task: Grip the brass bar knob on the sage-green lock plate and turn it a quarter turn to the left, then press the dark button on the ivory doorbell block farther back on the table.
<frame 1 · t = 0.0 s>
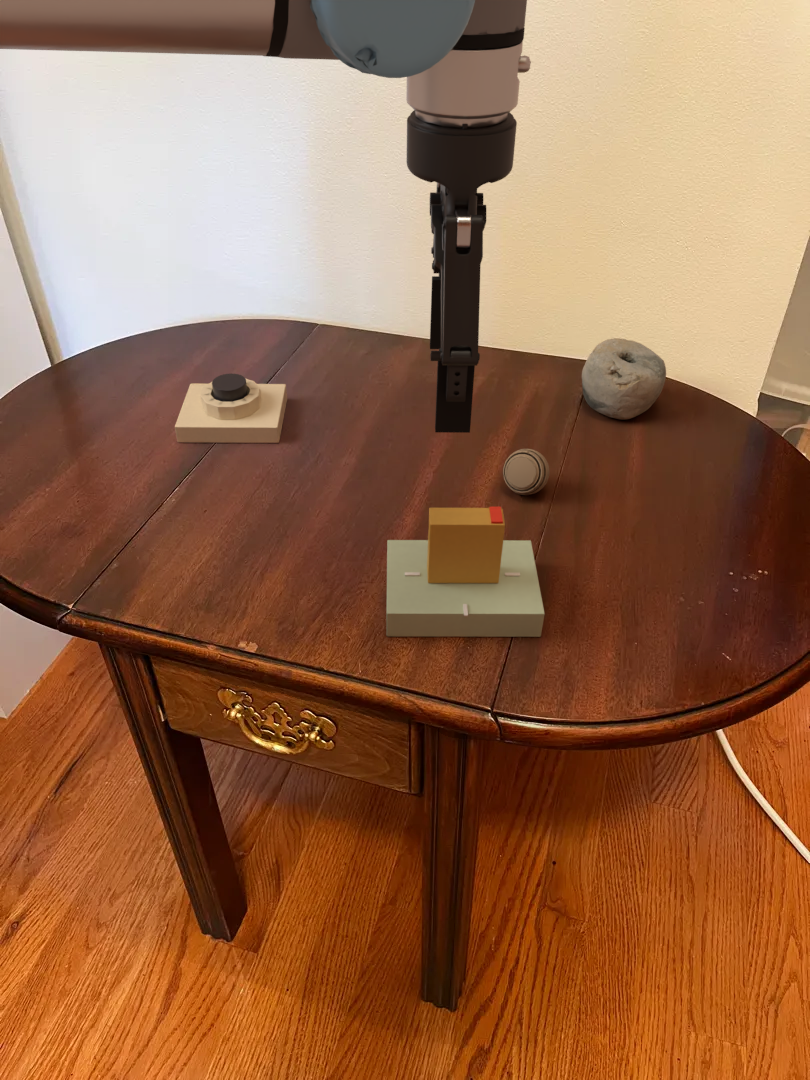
hand: (448, 386, 71), 20 cm above the table, tool pointing down, fingers open, 13 cm apart
door knob: (523, 491, 93), on the table
bell button: (229, 388, 100), point 4 cm above the table, slide at 0.1 cm
doorbell: (234, 419, 103), on the table
lock plate: (460, 598, 80), on the table
stone: (617, 406, 107), on the table
lock knob: (464, 545, 75), point 7 cm above the table, hinge at 0.0°
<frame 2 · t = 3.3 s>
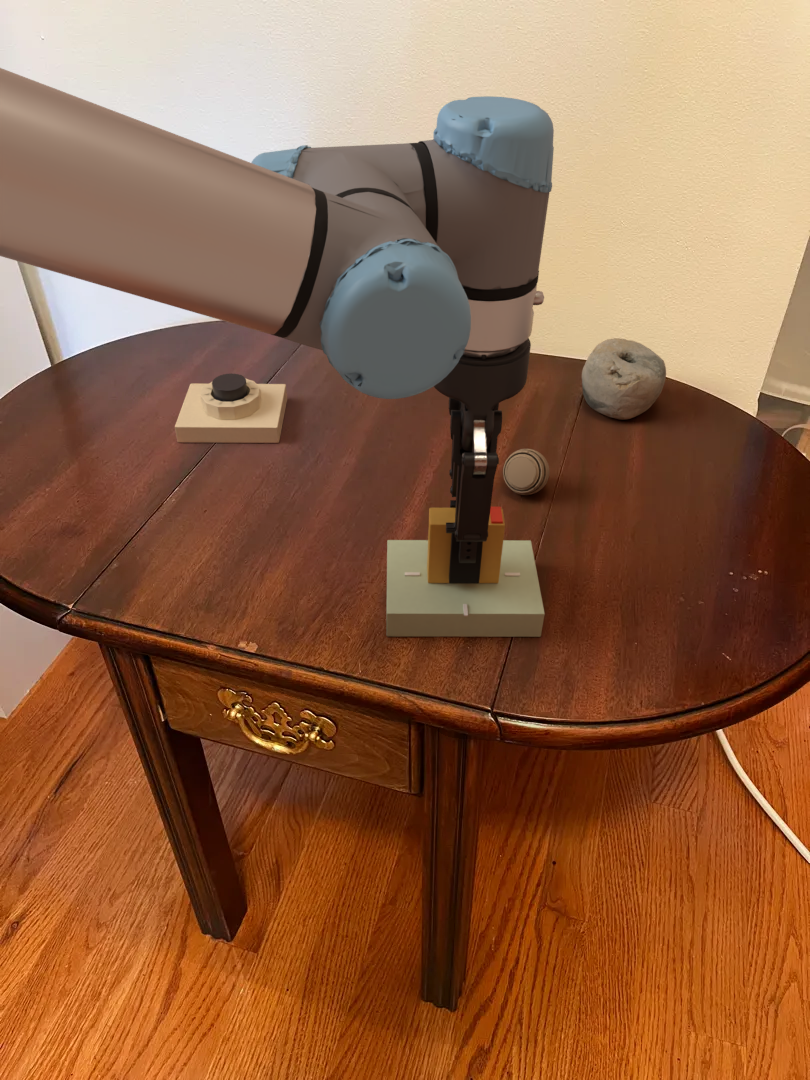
hand: (462, 568, 77), 4 cm above the table, tool pointing down, fingers closed on lock knob, 2 cm apart
lock knob: (464, 545, 75), point 7 cm above the table, hinge at -0.1°, touching gripper
everything else where it was.
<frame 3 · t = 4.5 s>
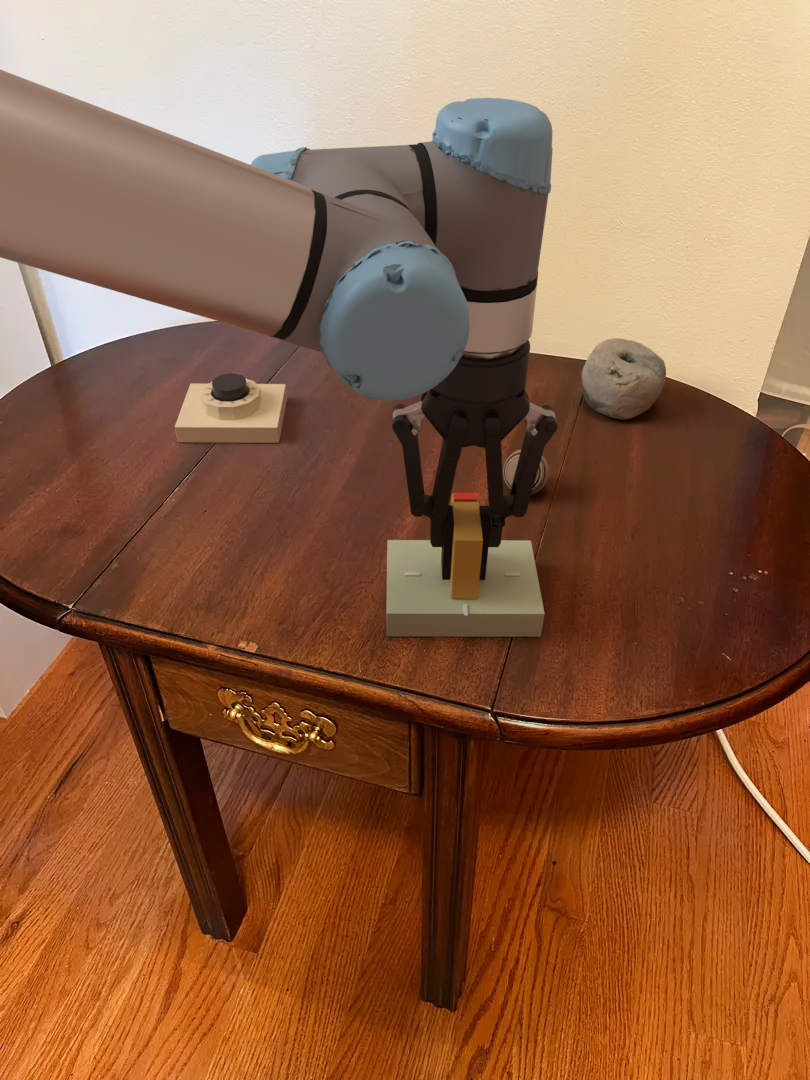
hand: (462, 569, 77), 4 cm above the table, tool pointing down, fingers open, 2 cm apart
lock knob: (464, 545, 75), point 7 cm above the table, hinge at 89.5°
everything else where it was.
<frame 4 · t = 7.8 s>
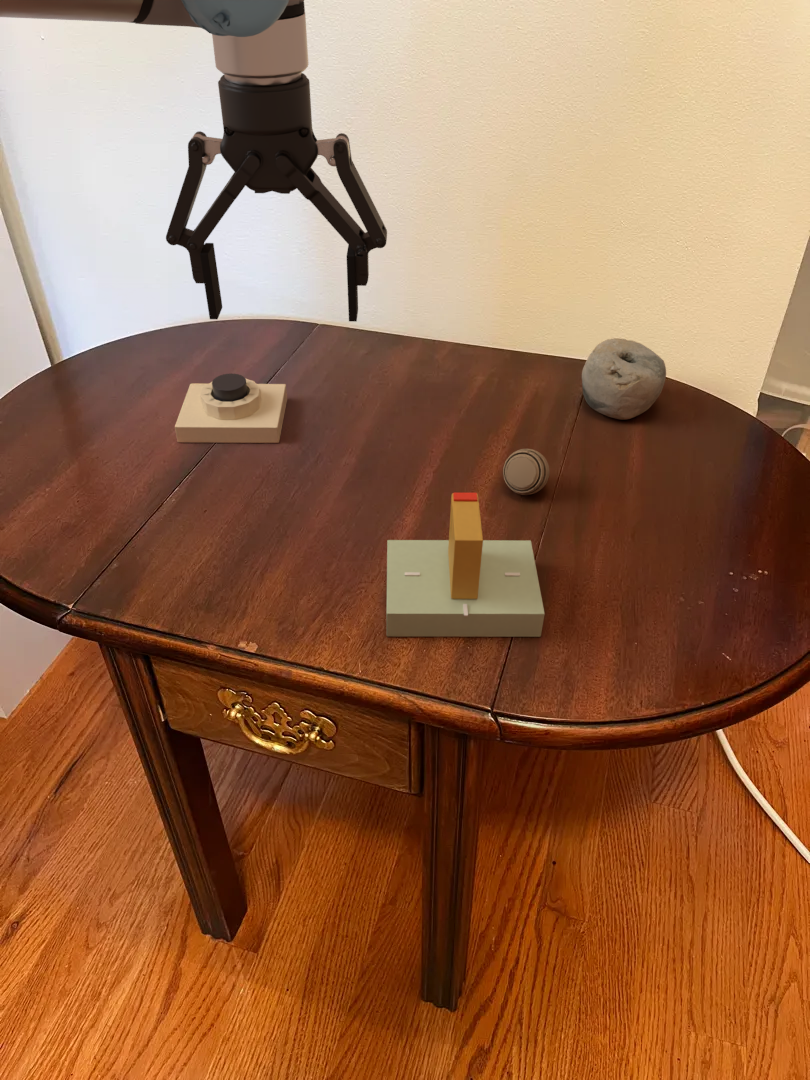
hand: (284, 314, 83), 19 cm above the table, tool pointing down, fingers open, 13 cm apart
nothing on the table moved.
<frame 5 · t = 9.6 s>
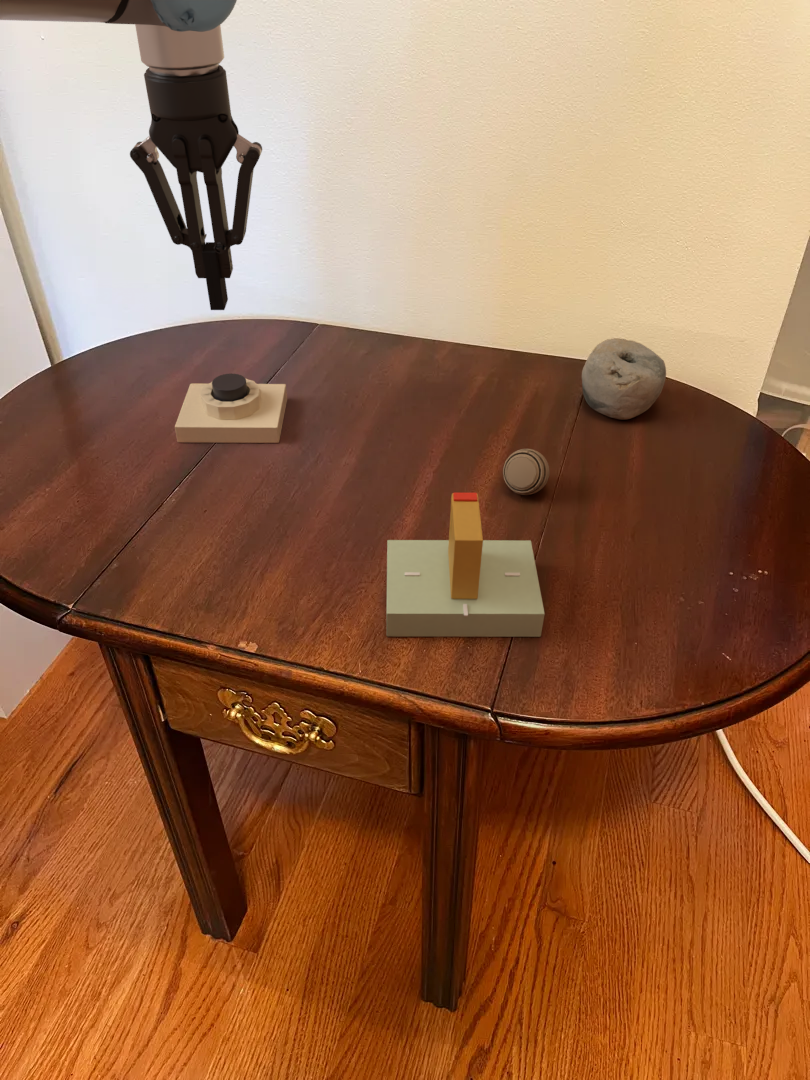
hand: (219, 304, 93), 15 cm above the table, tool pointing down, fingers closed
nothing on the table moved.
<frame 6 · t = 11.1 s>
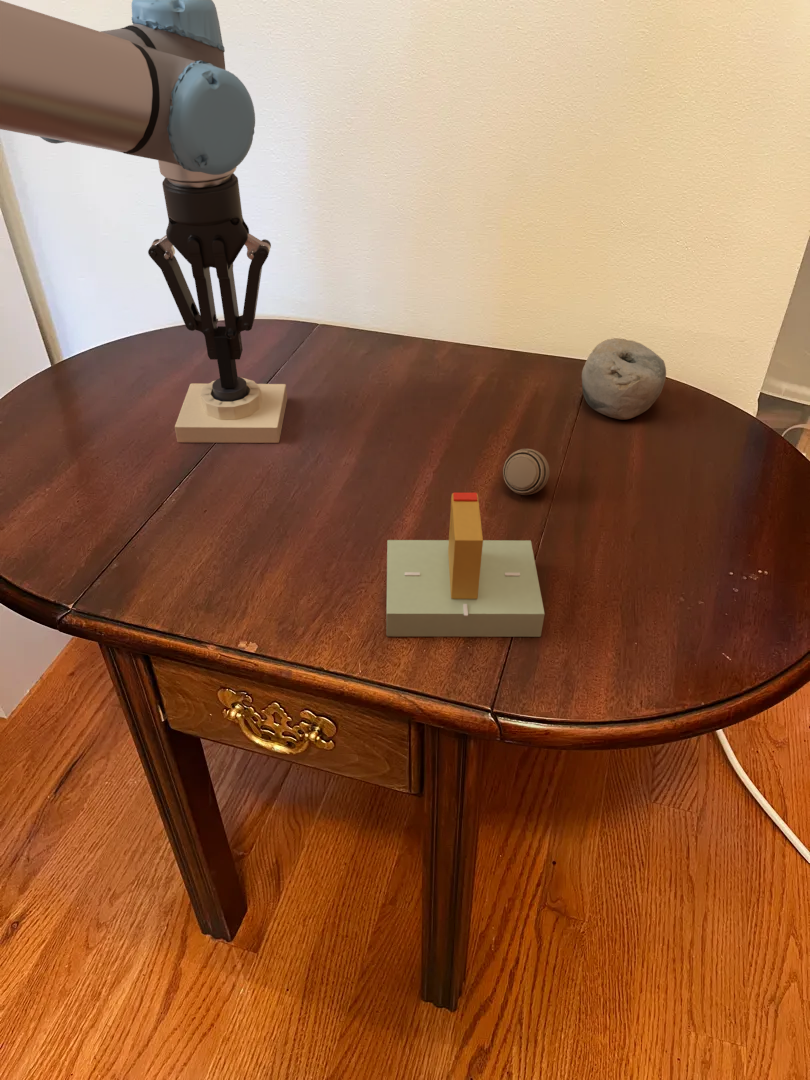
hand: (229, 381, 99), 5 cm above the table, tool pointing down, fingers closed
bell button: (230, 390, 100), point 4 cm above the table, slide at -0.3 cm, touching gripper
everything else where it was.
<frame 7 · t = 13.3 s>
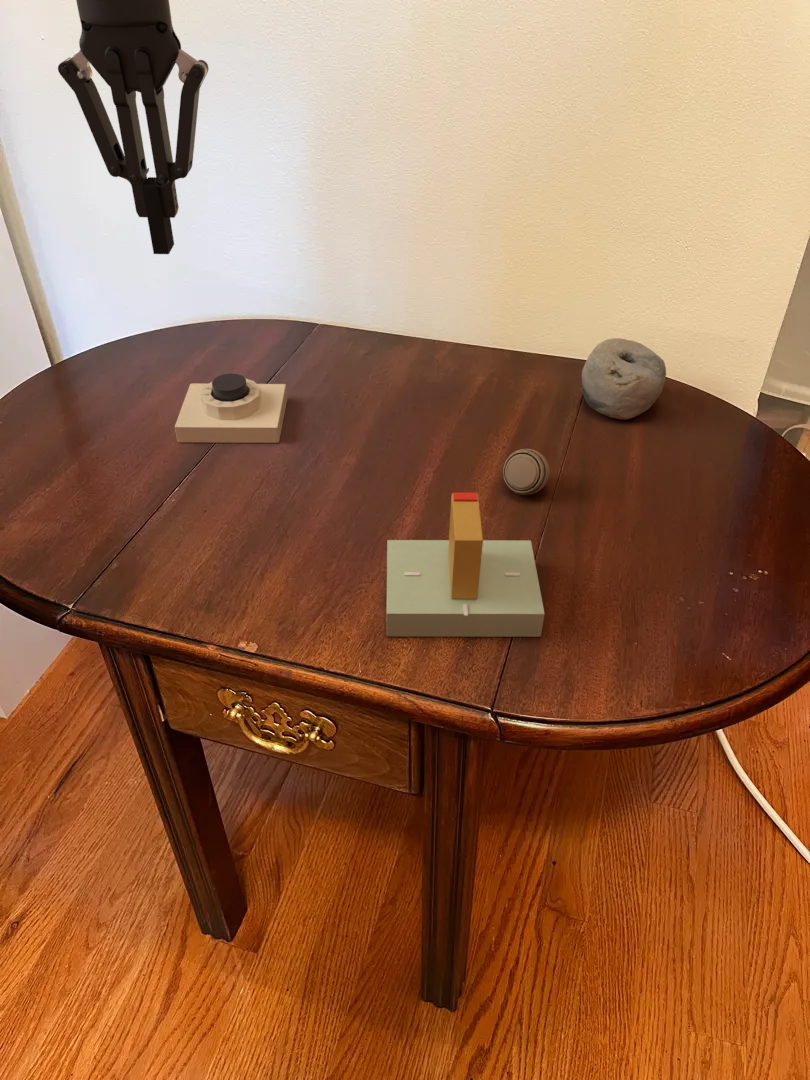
hand: (164, 248, 84), 23 cm above the table, tool pointing down, fingers closed
bell button: (229, 388, 100), point 4 cm above the table, slide at 0.1 cm
everything else where it was.
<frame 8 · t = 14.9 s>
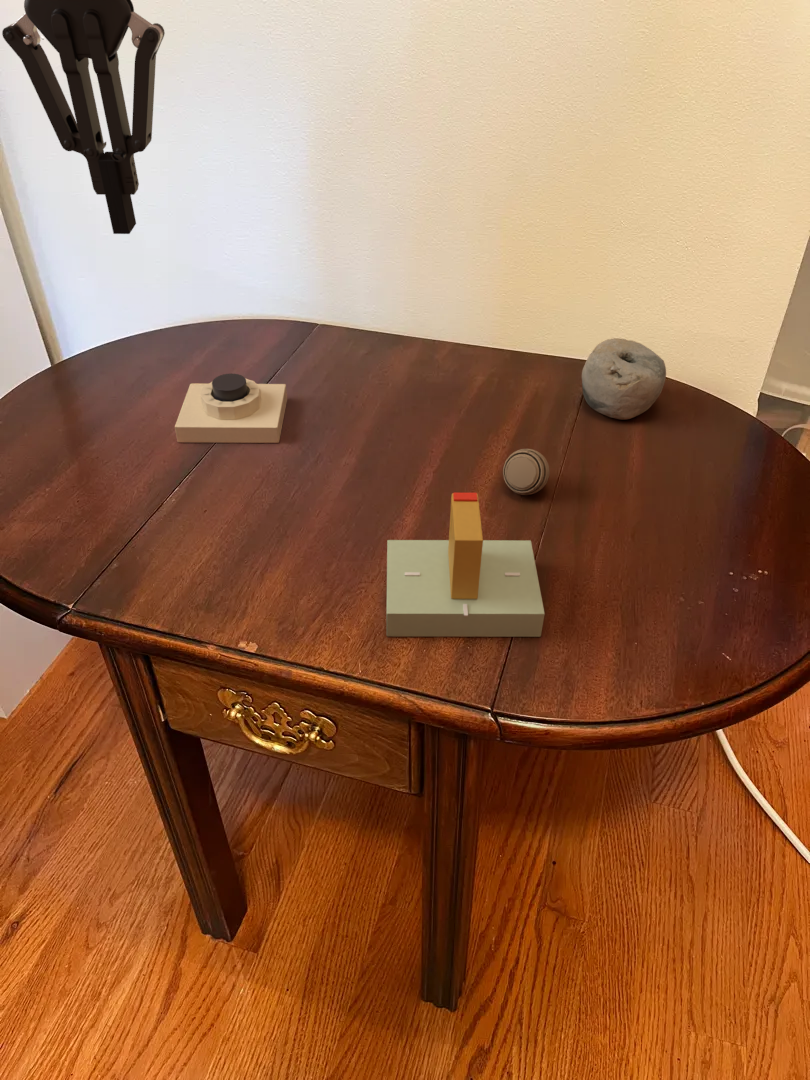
hand: (124, 228, 79), 26 cm above the table, tool pointing down, fingers closed
nothing on the table moved.
at the end: lock knob at +90° (first picture: +0°); bell button pushed in 1.0 cm at the most during the clip, back to where it started at the end; bell button slide at 0.1 cm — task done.
